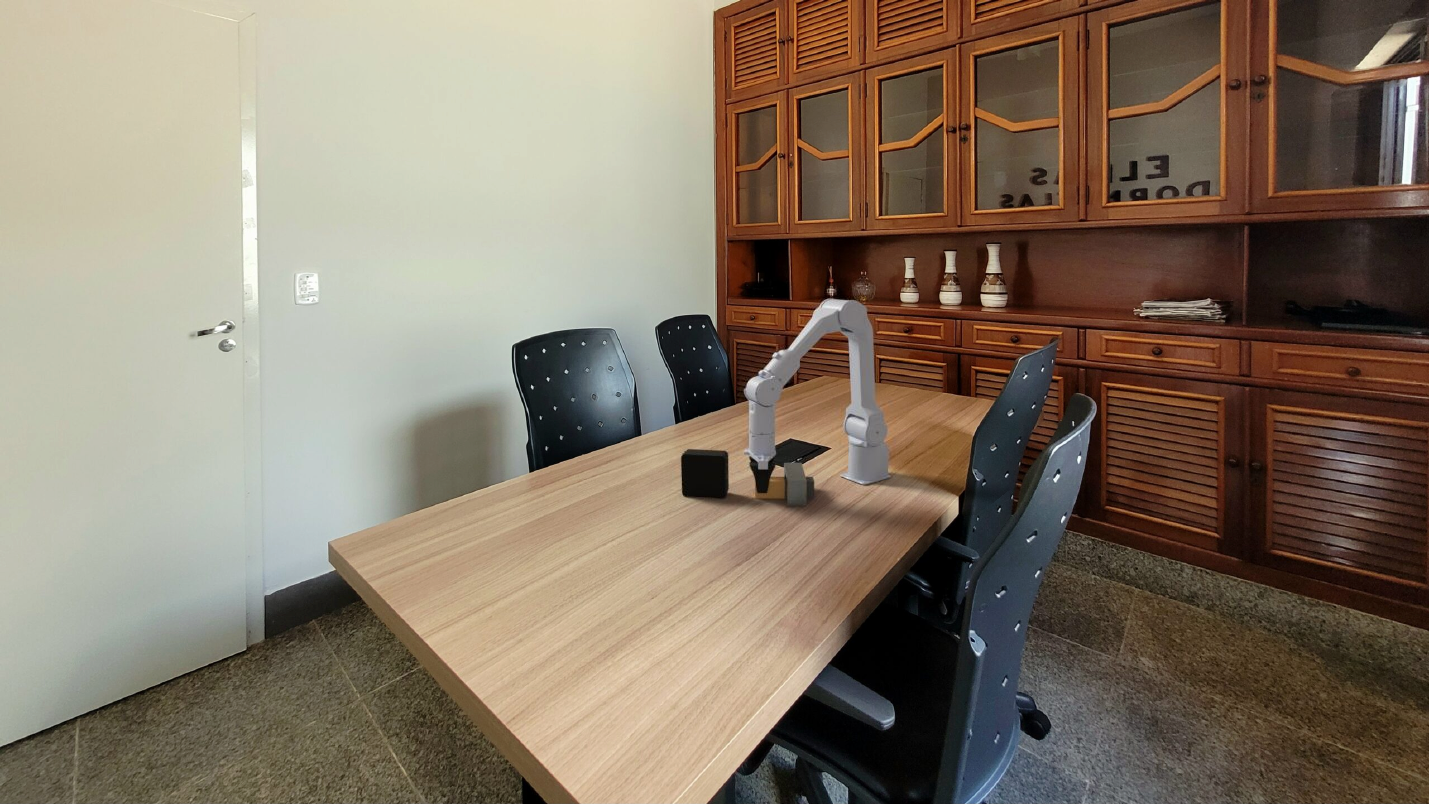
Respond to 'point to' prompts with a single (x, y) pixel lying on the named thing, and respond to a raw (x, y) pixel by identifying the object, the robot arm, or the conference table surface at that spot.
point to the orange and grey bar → (783, 488)
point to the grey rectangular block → (795, 484)
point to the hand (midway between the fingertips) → (761, 489)
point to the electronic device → (705, 473)
